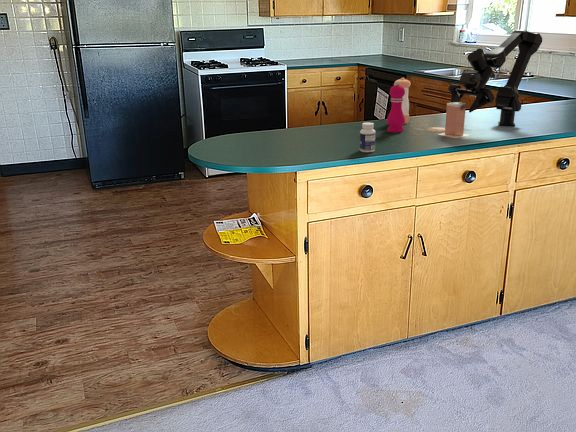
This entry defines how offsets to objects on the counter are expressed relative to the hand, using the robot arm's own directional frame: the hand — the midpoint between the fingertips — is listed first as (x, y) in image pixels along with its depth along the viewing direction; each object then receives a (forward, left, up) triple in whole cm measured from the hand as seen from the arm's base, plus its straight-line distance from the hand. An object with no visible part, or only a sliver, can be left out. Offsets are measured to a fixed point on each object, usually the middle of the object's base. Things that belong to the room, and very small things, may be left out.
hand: (459, 110), depth 228 cm
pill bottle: (+35, -30, -10) cm, 47 cm away
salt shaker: (-21, -24, -10) cm, 34 cm away
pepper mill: (-1, -24, -10) cm, 26 cm away
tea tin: (+2, -1, -9) cm, 9 cm away
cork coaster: (-6, -7, -10) cm, 14 cm away
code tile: (+2, -1, -10) cm, 10 cm away
